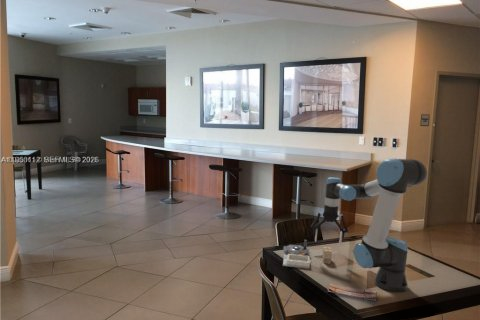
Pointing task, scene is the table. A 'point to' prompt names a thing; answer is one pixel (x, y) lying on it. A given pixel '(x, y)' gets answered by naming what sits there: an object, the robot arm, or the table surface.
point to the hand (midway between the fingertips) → (327, 242)
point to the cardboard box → (327, 255)
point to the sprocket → (297, 249)
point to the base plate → (296, 261)
